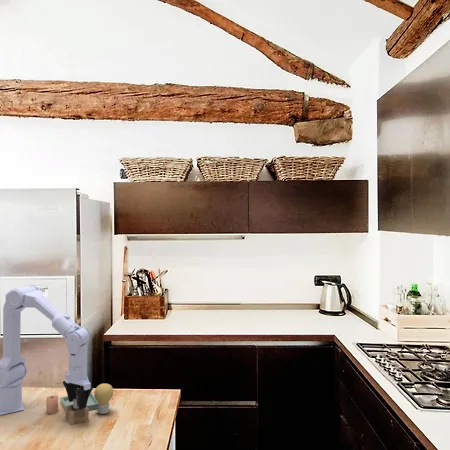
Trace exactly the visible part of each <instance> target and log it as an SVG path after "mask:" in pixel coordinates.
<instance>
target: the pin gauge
mask: <svg viewBox="0 0 450 450" xmlns="http://www.w3.org/2000/svg"><path fill="white" fill-rule="evenodd" d="M78 409H79V406H78V398H77V397H75V398H73V411H74V410H78Z"/></svg>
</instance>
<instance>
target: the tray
mask: <svg viewBox="0 0 450 450" xmlns="http://www.w3.org/2000/svg"><path fill="white" fill-rule="evenodd" d="M76 397H77V396H76ZM59 400H60V404H61V406H62V408H63V409H64V411H65V412H66V406H68V405H73V401H72V402H69V400H68V395H67V396H63V397H60V399H59ZM98 404H99V403H98V402H97V400H96V399H95V396H94V394H93V391H91V393H90V395H89V398H88V401H87V407H88V408H89V412H90V411H93V410H98Z"/></svg>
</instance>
